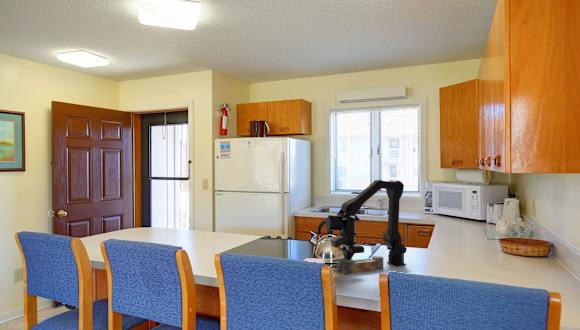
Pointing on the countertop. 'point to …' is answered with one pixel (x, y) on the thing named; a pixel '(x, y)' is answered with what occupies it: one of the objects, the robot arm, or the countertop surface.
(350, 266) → the wooden block
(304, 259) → the charger
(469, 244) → the countertop surface
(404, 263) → the robot arm
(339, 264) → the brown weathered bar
